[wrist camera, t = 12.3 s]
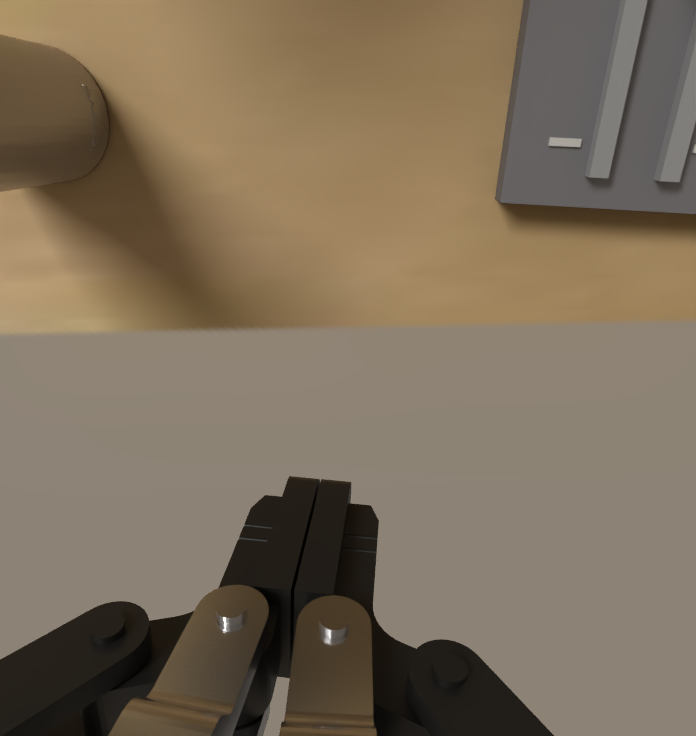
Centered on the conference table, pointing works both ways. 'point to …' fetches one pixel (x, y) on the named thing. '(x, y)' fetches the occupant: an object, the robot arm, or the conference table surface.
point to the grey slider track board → (603, 106)
